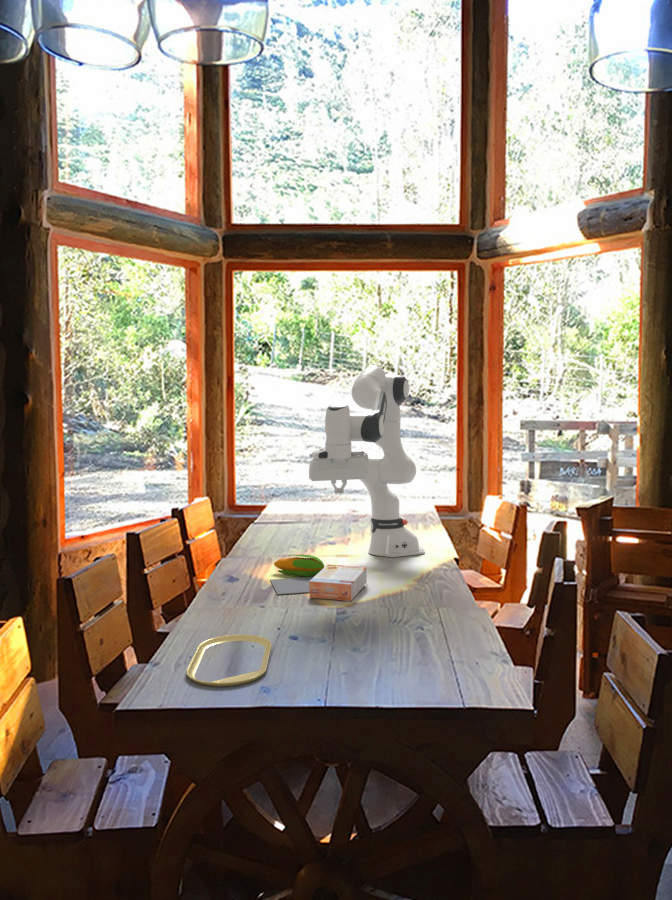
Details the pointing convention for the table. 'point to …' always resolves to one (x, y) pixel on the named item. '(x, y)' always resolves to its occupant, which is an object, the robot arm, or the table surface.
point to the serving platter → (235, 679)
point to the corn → (300, 566)
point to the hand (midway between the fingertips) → (339, 493)
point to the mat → (291, 585)
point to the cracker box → (338, 582)
